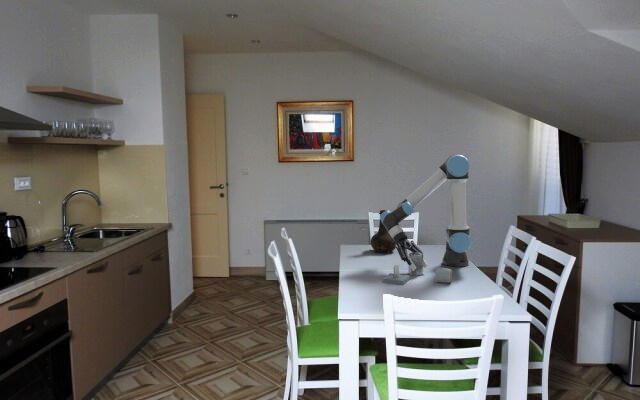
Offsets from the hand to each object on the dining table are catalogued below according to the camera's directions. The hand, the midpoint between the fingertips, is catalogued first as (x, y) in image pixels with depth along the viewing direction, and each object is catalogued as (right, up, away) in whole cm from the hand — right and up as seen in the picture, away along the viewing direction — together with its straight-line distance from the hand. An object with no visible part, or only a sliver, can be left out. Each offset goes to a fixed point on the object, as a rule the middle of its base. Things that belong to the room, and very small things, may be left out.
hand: (420, 267), depth 246 cm
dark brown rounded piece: (-12, +2, +60) cm, 61 cm away
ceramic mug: (+9, -5, -13) cm, 16 cm away
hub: (-2, -4, +3) cm, 5 cm away
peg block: (-15, -5, -11) cm, 19 cm away
